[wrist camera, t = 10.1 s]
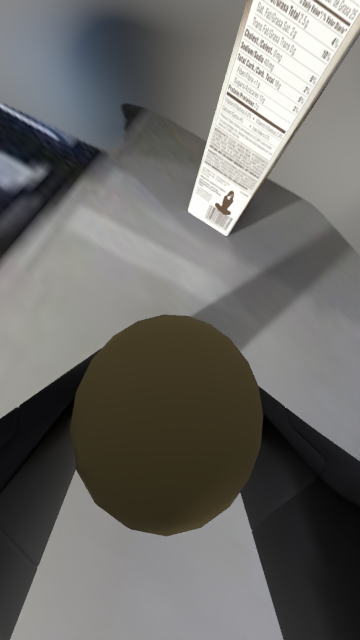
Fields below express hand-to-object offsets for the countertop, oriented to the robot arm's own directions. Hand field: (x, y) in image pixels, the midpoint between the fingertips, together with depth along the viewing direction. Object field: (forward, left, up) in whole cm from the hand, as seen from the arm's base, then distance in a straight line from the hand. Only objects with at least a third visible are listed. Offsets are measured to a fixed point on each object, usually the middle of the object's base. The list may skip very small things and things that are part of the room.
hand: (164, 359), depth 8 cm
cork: (-1, -1, -7) cm, 7 cm away
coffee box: (+20, +10, -7) cm, 24 cm away
